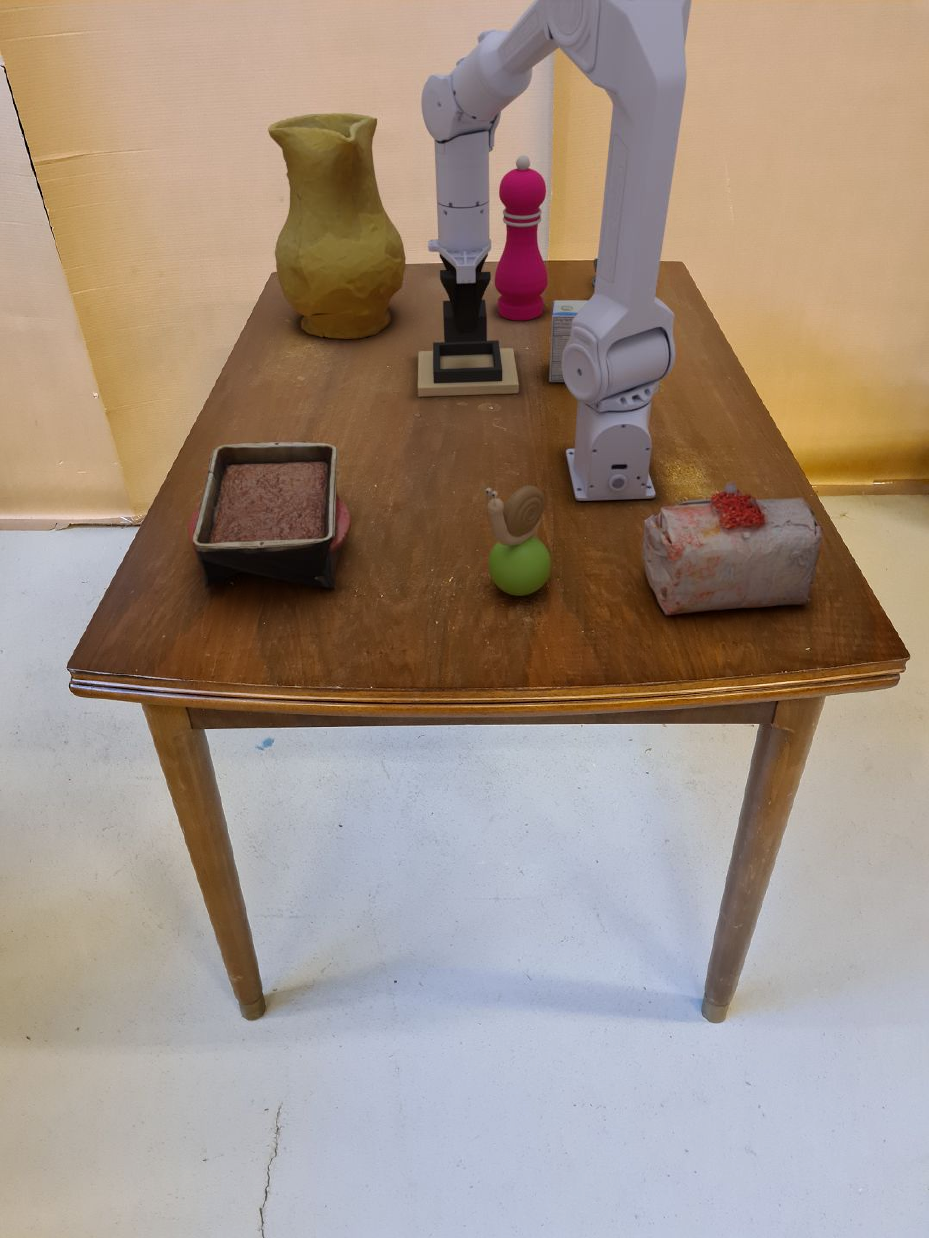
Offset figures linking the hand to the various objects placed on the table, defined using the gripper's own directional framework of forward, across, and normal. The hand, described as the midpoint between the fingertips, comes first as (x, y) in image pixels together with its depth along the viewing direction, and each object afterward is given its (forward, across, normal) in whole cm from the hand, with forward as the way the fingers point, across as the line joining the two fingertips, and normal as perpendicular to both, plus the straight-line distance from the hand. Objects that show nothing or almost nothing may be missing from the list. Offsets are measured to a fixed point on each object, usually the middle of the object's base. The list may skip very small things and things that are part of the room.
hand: (465, 321), depth 107 cm
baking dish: (+7, +35, -19) cm, 40 cm away
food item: (+7, +43, +21) cm, 48 cm away
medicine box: (+7, +1, +14) cm, 16 cm away
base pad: (+7, 0, 0) cm, 7 cm away
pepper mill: (+7, -19, +8) cm, 22 cm away
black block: (+1, 0, 0) cm, 1 cm away
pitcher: (+7, -19, -16) cm, 26 cm away
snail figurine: (+7, +42, +3) cm, 43 cm away
